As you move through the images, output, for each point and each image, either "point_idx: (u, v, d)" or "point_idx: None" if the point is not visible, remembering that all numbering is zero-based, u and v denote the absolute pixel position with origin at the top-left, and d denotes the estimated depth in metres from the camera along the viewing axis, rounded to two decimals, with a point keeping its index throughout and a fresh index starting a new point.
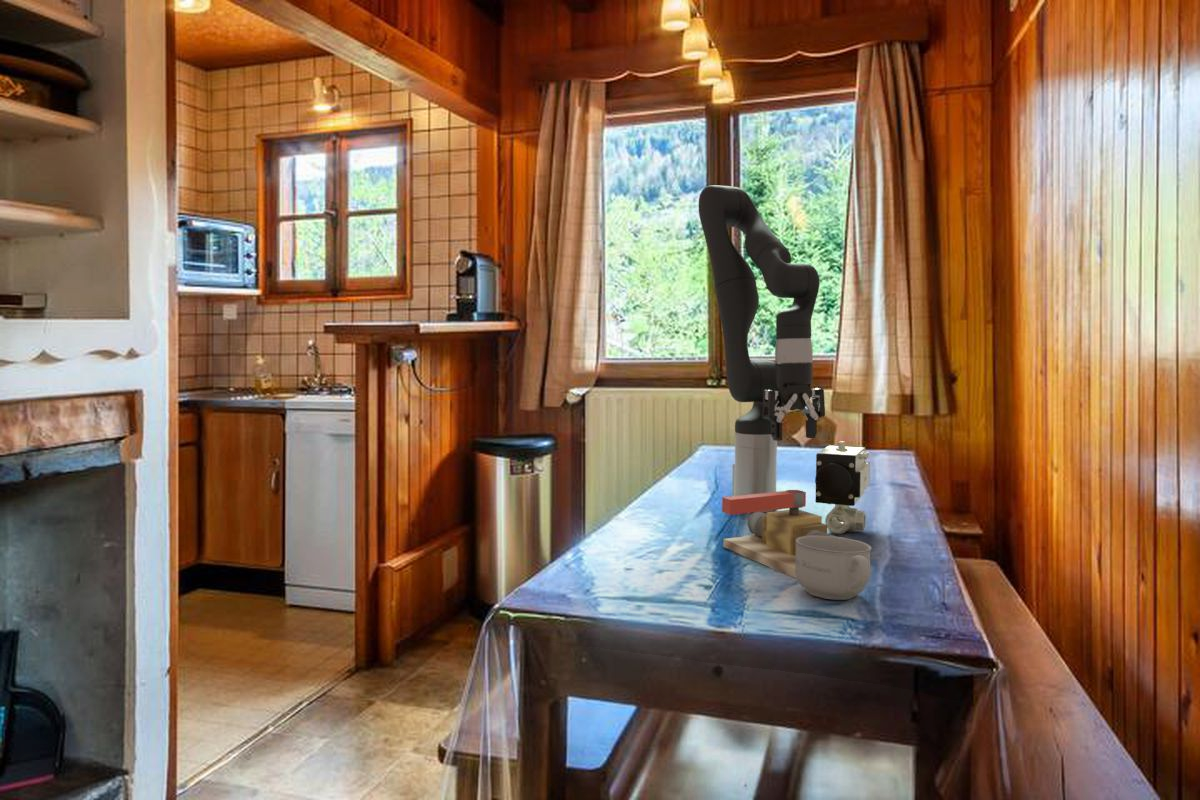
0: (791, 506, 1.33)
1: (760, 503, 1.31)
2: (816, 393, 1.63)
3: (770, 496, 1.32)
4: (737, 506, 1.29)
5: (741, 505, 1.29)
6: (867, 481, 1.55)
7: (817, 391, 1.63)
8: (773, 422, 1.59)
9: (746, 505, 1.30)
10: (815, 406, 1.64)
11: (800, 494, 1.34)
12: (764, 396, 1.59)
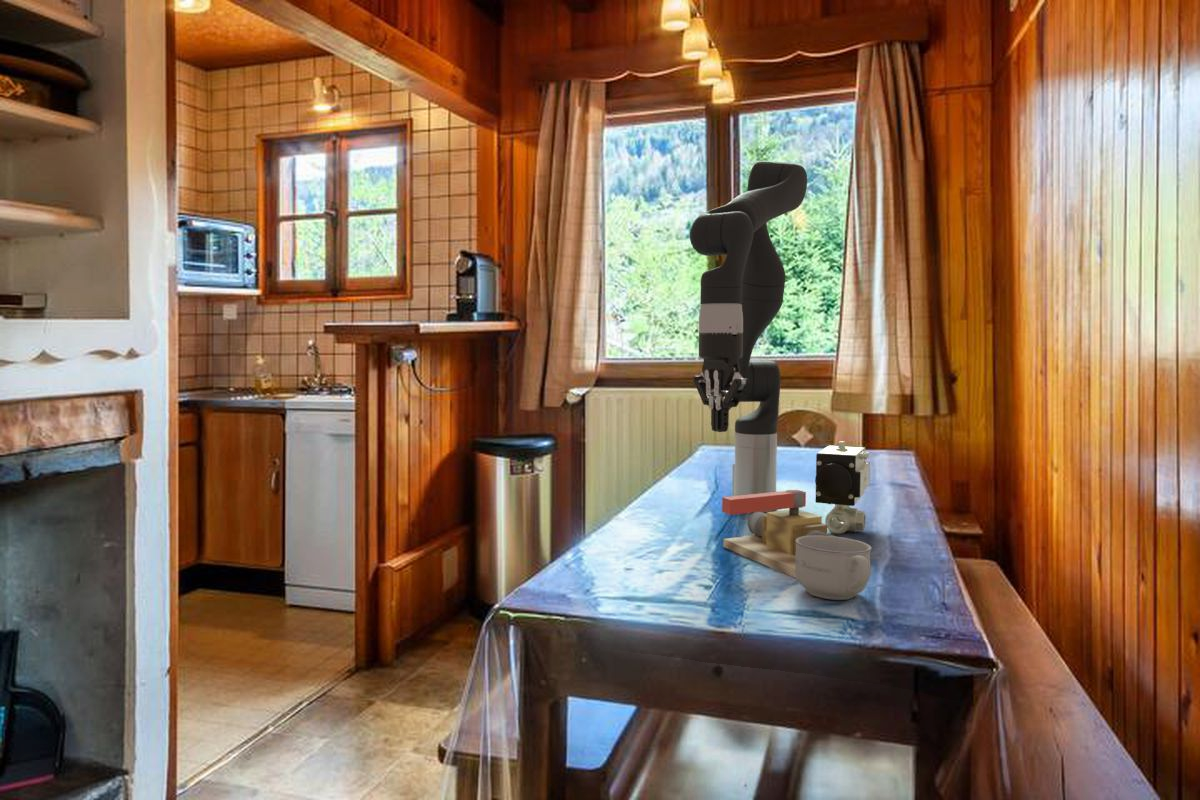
0: (791, 506, 1.33)
1: (760, 503, 1.31)
2: None
3: (770, 496, 1.32)
4: (737, 506, 1.29)
5: (741, 505, 1.29)
6: (867, 481, 1.55)
7: None
8: (726, 410, 1.33)
9: (746, 505, 1.30)
10: None
11: (800, 494, 1.34)
12: (737, 387, 1.29)
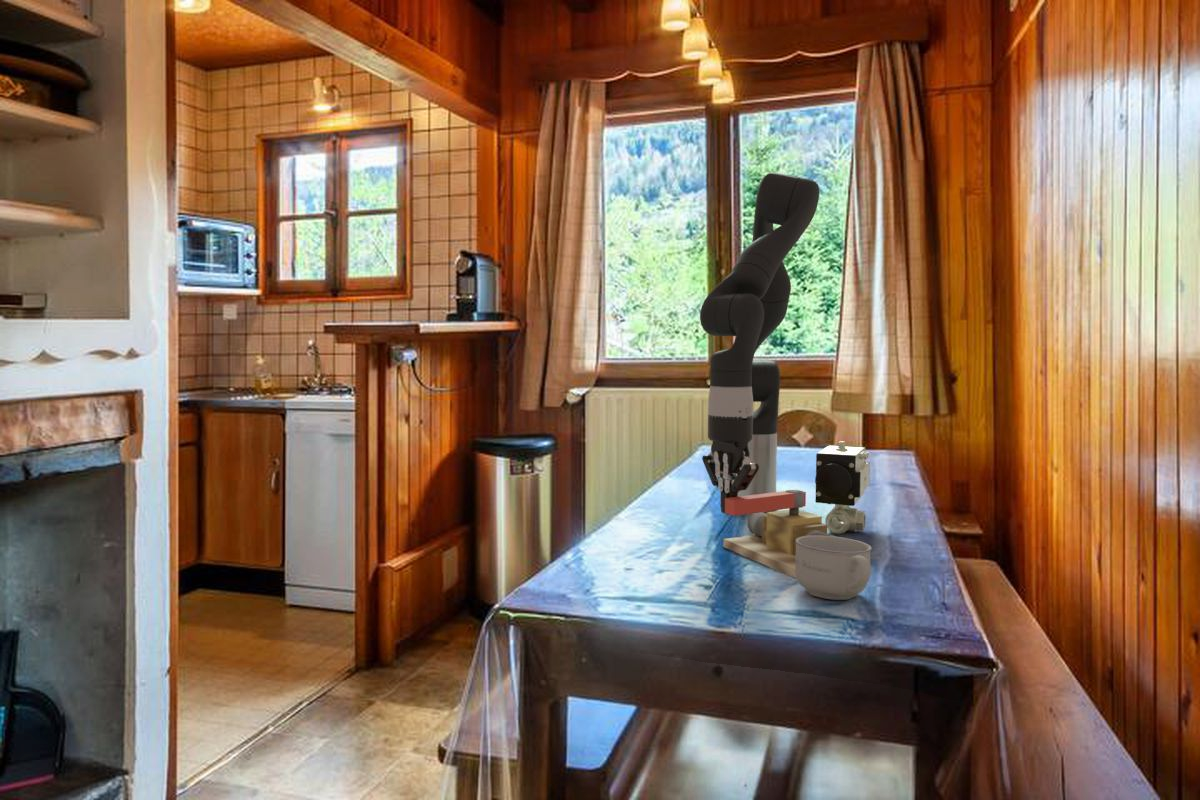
0: (792, 506, 1.33)
1: (762, 504, 1.30)
2: None
3: (772, 496, 1.31)
4: (740, 507, 1.28)
5: (744, 506, 1.29)
6: (867, 481, 1.55)
7: None
8: (735, 493, 1.32)
9: (749, 506, 1.29)
10: None
11: (800, 494, 1.34)
12: (747, 473, 1.27)
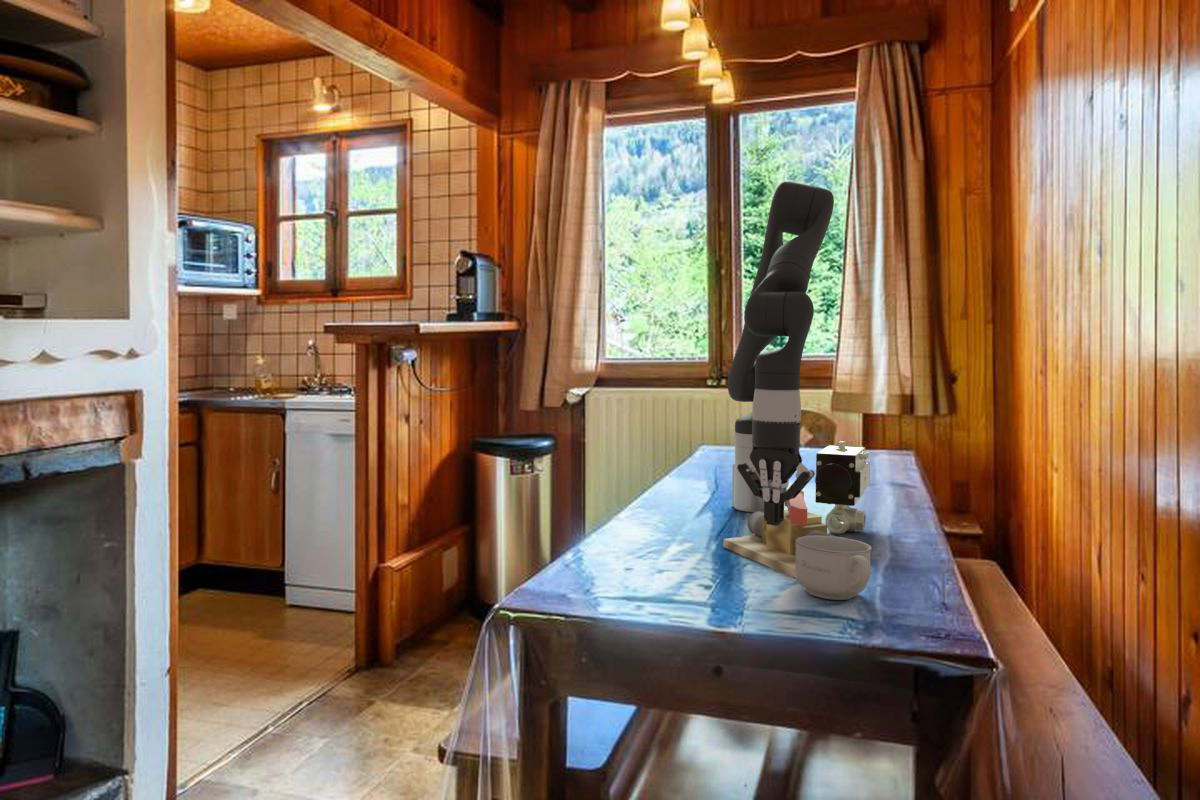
0: None
1: None
2: None
3: (803, 499, 1.29)
4: None
5: None
6: (867, 481, 1.55)
7: None
8: (783, 502, 1.25)
9: None
10: None
11: (803, 493, 1.35)
12: (805, 481, 1.21)
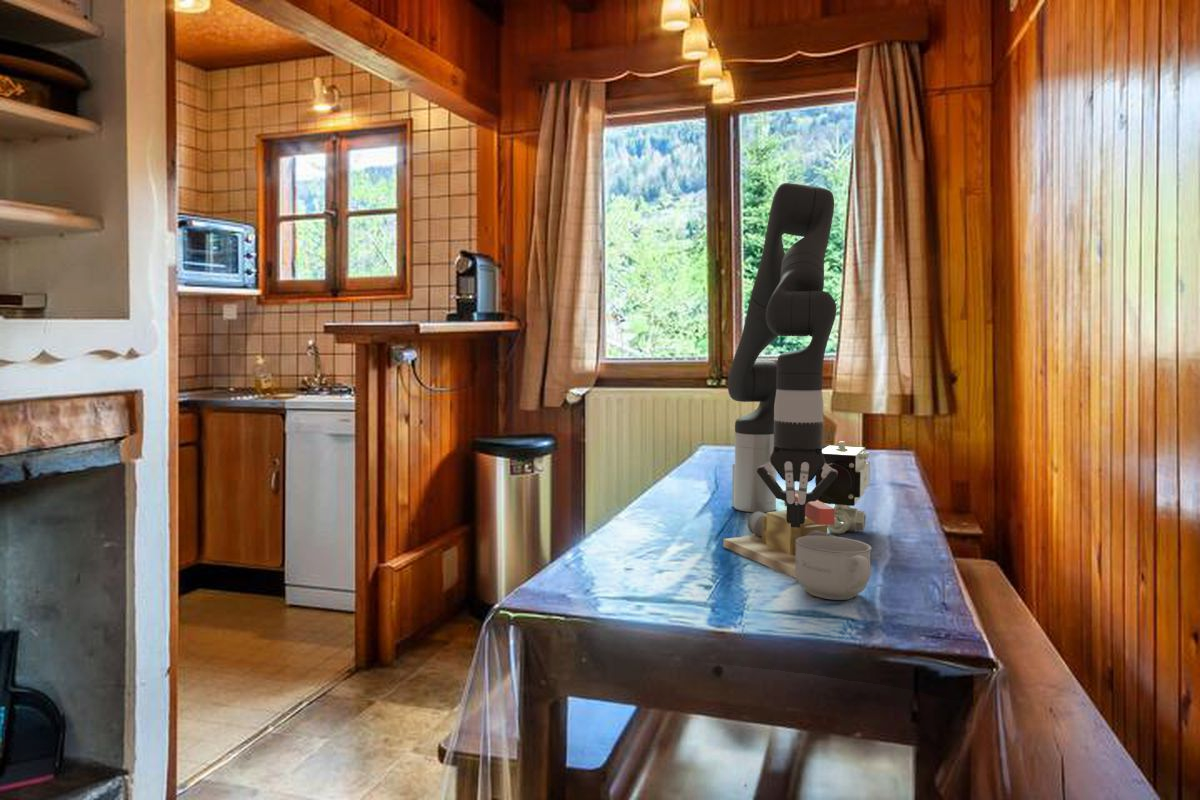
0: None
1: None
2: None
3: None
4: None
5: None
6: (867, 481, 1.55)
7: None
8: None
9: None
10: None
11: None
12: (833, 480, 1.21)
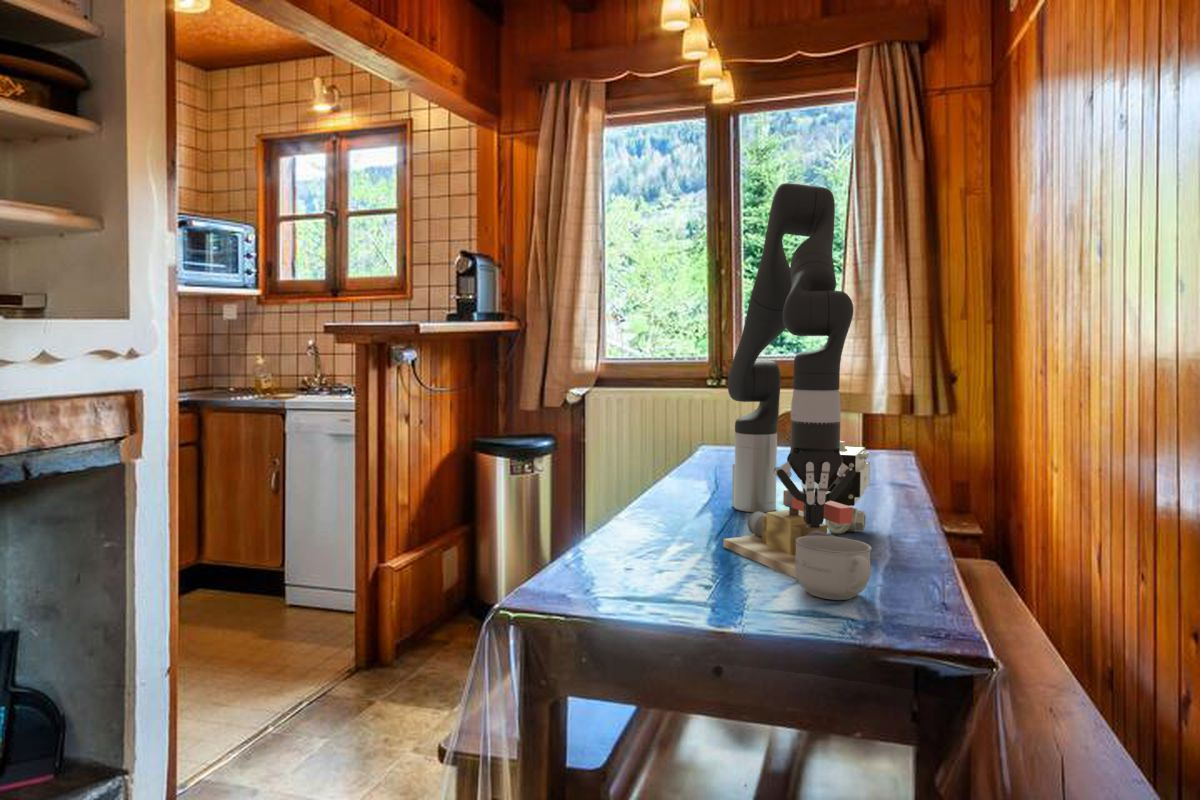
0: None
1: None
2: None
3: None
4: None
5: None
6: (867, 481, 1.55)
7: None
8: None
9: None
10: None
11: (802, 492, 1.36)
12: None
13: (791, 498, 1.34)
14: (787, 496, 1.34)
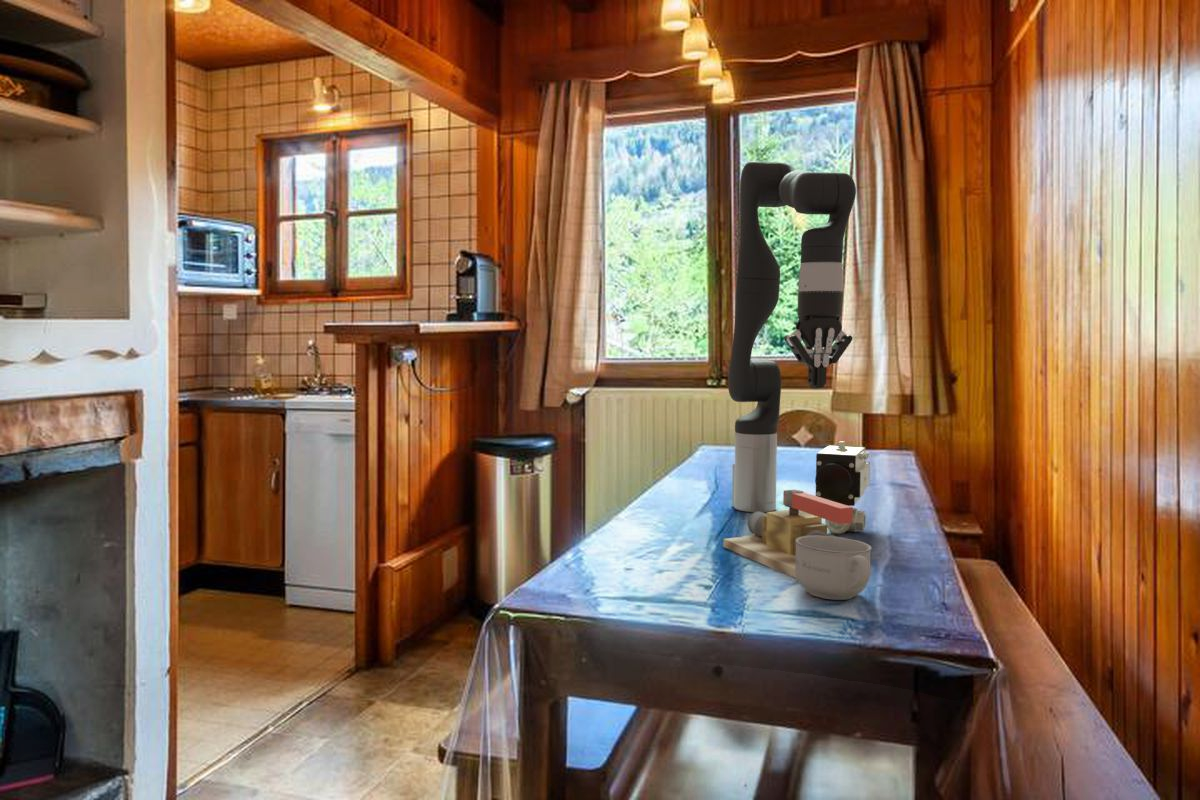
0: None
1: None
2: None
3: (820, 498, 1.30)
4: None
5: None
6: (867, 481, 1.55)
7: None
8: None
9: None
10: None
11: None
12: None
13: (791, 498, 1.34)
14: (787, 496, 1.34)
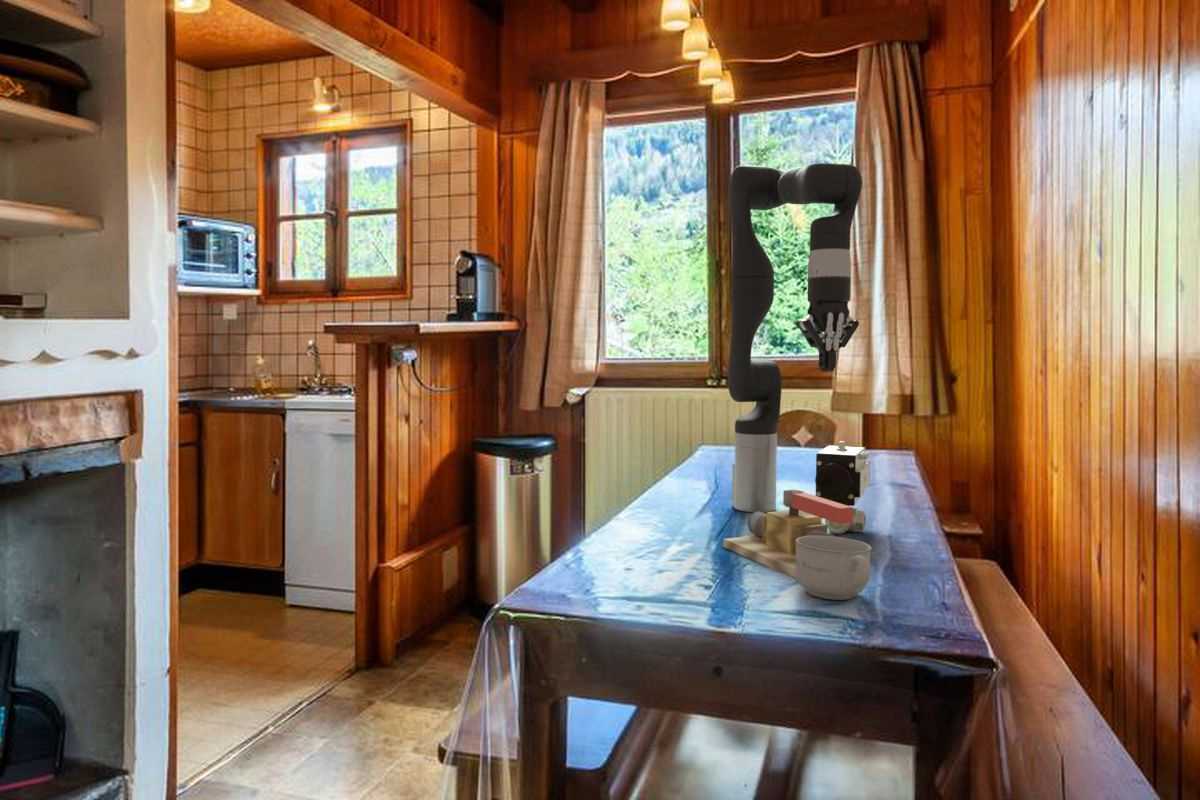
0: None
1: None
2: None
3: (820, 498, 1.30)
4: None
5: None
6: (867, 481, 1.55)
7: None
8: None
9: None
10: None
11: None
12: None
13: (791, 498, 1.34)
14: (787, 496, 1.34)
